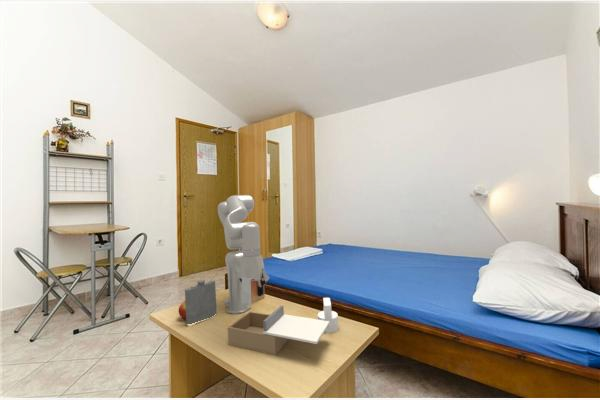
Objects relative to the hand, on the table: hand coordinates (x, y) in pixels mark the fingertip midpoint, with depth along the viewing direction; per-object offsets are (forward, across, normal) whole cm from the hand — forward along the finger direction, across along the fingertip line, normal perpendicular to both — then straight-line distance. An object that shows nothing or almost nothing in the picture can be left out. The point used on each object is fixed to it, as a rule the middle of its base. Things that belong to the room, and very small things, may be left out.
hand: (253, 294), depth 113 cm
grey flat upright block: (+19, -35, +6) cm, 40 cm away
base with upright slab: (+19, +27, +18) cm, 38 cm away
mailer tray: (+19, +3, 0) cm, 19 cm away
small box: (+3, 0, 0) cm, 3 cm away
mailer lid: (+12, +20, 0) cm, 23 cm away
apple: (+19, -44, +5) cm, 48 cm away
